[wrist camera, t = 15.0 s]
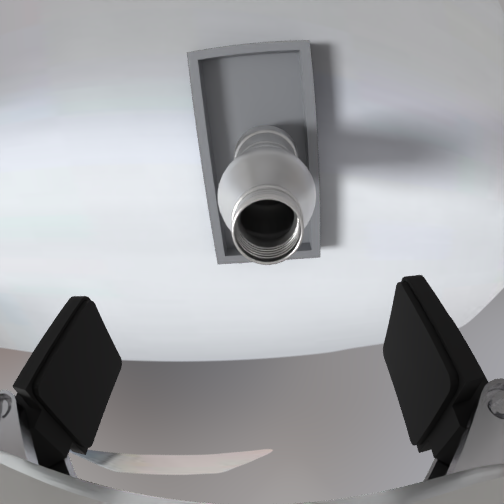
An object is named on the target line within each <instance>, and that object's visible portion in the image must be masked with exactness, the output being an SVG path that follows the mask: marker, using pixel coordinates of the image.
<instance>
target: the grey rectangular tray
mask: <svg viewBox="0 0 504 504" xmlns="http://www.w3.org/2000/svg"><path fill="white" fill-rule="evenodd" d="M187 58H188V67H189V75H190V83H191V91H192V99H193V107H194V114H195V122H196V129H197V136H198V143H199V150H200V157H201V164H202V171H203V177H204V184H205V190H206V197H207V203H208V209H209V215H210V221H211V228H212V234H213V239H214V245H215V251H216V257H217V263H218V264H231V263H246V262H252V261H250V260H248V259H247V258H245V257H244V256H243V255H242V254H241V253H240V252H239V251H238V250H237V248H236V246H235V244H234V242H233V238H232V234H231V231H230V229H229V228H228V227H227V225H226V224H225V222H224V219H223V217H222V215H221V213H220V210H219V205H218V187H219V183H220V180H221V177H222V175H223V173H224V172H225V170H226V169H227V167H228V166H229V164H230V163H231V162H232V161H233V160H234V151H235V147H236V145H237V142H238V141H239V139H240V138H241V137H242V136H243V135H244V134H245V133H246V132H247V131H249V130H250V129H252V128H254V127H257V126H262V125H270V126H275V127H278V128H280V129H282V130H284V131H285V132H287V133H288V134H289V135H290V136H291V138H292V139H293V141H294V142H295V144H296V147H297V150H298V158H299V159H300V160H301V161H302V162H303V164H304V165H305V166H306V167H307V168H308V170H309V172H310V173H311V175H312V178H313V181H314V184H315V189H316V202H315V207H314V211H313V214H312V216H311V218H310V220H309V222H308V224H307V226H306V227H305V228H304V235H303V239H302V242H301V244H300V246H299V248H298V250H297V251H296V252H295V253H294V254H293V255H292V256H291V257H290V258H288V259H286V260H289V259H303V258H317V257H320V187H319V159H318V138H317V121H316V107H315V93H314V81H313V70H312V60H311V50H310V41H309V40H301V41H277V42H262V43H250V44H241V45H232V46H224V47H217V48H210V49H204V50H198V51H192V52H187Z"/></svg>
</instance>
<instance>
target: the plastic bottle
mask: <svg viewBox="0 0 504 504" xmlns="http://www.w3.org/2000/svg"><path fill="white" fill-rule="evenodd" d="M315 202H316V189H315V184H314V181H313V178H312V175H311V173H310V172H309V170H308V168H307V167H306V166H305V165H304V164H303V162H302V161H301V160H300V159H299V158H298V150H297V147H296V144H295V142H294V141H293V139H292V138H291V136H290V135H289V134H288V133H287V132H285V131H284V130H282V129H280V128H278V127H275V126H270V125H262V126H257V127H254V128H252V129H250V130H249V131H247V132H246V133H245V134H244V135H243V136H242V137H241V138H240V139H239V141H238V142H237V145H236V147H235V151H234V160H233V161H232V162H231V163H230V164H229V166H228V167H227V169H226V170H225V172H224V173H223V175H222V177H221V180H220V183H219V187H218V205H219V210H220V213H221V215H222V217H223V219H224V222H225V224H226V225H227V227H228V228H229V229H230V231H231V234H232V238H233V242H234V244H235V246H236V248H237V250H238V251H239V252H240V253H241V254H242V255H243V256H244V257H245V258H247V259H248V260H250V261H252V262H255V263H258V264H263V265H271V264H277V263H280V262H283V261H285V260H286V259H288V258H290V257H291V256H292V255H293V254H294V253H295V252H296V251H297V250H298V248H299V246H300V244H301V242H302V239H303V235H304V228H305V227H306V226H307V224H308V222H309V220H310V218H311V216H312V214H313V211H314V207H315Z"/></svg>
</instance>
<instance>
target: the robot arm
mask: <svg viewBox="0 0 504 504" xmlns="http://www.w3.org/2000/svg"><path fill="white" fill-rule="evenodd" d="M383 354H384V359H385V361H386V364H387V367H388V370H389V373H390V376H391V379H392V382H393V385H394V388H395V391H396V394H397V397H398V400H399V404H400V407H401V410H402V413H403V417H404V420H405V423H406V427H407V430H408V434H409V437H410V441H411V443H412V444H413V445H417V448H418V451H419V453H420V452H424V451H427V450H430V449H432V452H433V456H434V458H435V459H434V461H433V463H432V465H431V467H430V469H429V472H428V473H427V475H426V477H425V479H424V481H423V482H420V483H416V484H412V485H408V486H405V487H400V488H396V489H392V490H387V491H383V492H377V493H372V494H367V495H361V496H356V497H350V498H343V499H336V500H329V501H319V502H309V503H296V504H504V379H494V380H492V381H490V382H488V381H487V379H486V377H485V375H484V373H483V371H482V370H481V367H480V366H479V364H478V362H477V360H476V359H475V357H474V355H473V353H472V351H471V350H470V348H469V346H468V344H467V343H466V341H465V340H464V338H463V336H462V334H461V333H460V331H459V329H458V328H457V326H456V324H455V323H454V321H453V320H452V318H451V317H450V316H449V315H448V313H447V311H446V310H445V308H444V307H443V305H442V304H441V302H440V301H439V299H438V297H437V296H436V294H435V293H434V291H433V290H432V289H431V287H430V286H429V284H428V283H427V281H426V280H425V278H424V277H423V276H422V275H416V276H407V277H403V279H402V281H401V282H399V283H397V285H396V290H395V296H394V301H393V306H392V311H391V315H390V320H389V325H388V329H387V333H386V338H385V342H384V346H383ZM121 366H122V361H121V357H120V355H119V353H118V351H117V349H116V347H115V345H114V343H113V341H112V339H111V337H110V335H109V333H108V331H107V329H106V327H105V325H104V323H103V321H102V318H101V316H100V314H99V312H98V310H97V307H96V305H95V303H94V302H93V301H91V300H90V298H89V297H86V296H73V297H71V298H70V299H69V300H68V302H67V303H66V304H65V306H64V307H63V309H62V310H61V311H60V313H59V314H58V316H57V317H56V319H55V320H54V321H53V323H52V324H51V326H50V327H49V329H48V330H47V332H46V333H45V335H44V336H43V338H42V339H41V341H40V342H39V344H38V345H37V347H36V348H35V350H34V352H33V353H32V355H31V357H30V358H29V360H28V361H27V363H26V365H25V366H24V368H23V369H22V371H21V373H20V375H19V376H18V378H17V379H16V381H15V383H14V385H13V388H14V389H15V390H16V391H17V395H16V396H15V395H14V394H13V393H12V392H11V391H9V390H1V391H0V504H214V503H201V502H191V501H182V500H174V499H167V498H161V497H154V496H148V495H143V494H138V493H133V492H128V491H123V490H119V489H115V488H111V487H107V486H103V485H99V484H95V483H92V482H88V481H85V480H82V479H78V478H77V475H76V473H75V470H74V468H73V465H72V463H71V460H70V458H69V455H68V453H69V450H70V449H71V450H72V451H73V452H77V453H80V454H84V455H86V452H87V449H88V448H89V447H91V446H92V444H93V441H94V438H95V436H96V432H97V430H98V427H99V424H100V422H101V419H102V416H103V413H104V411H105V408H106V405H107V403H108V400H109V397H110V395H111V392H112V390H113V387H114V385H115V382H116V380H117V377H118V374H119V372H120V370H121Z"/></svg>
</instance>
